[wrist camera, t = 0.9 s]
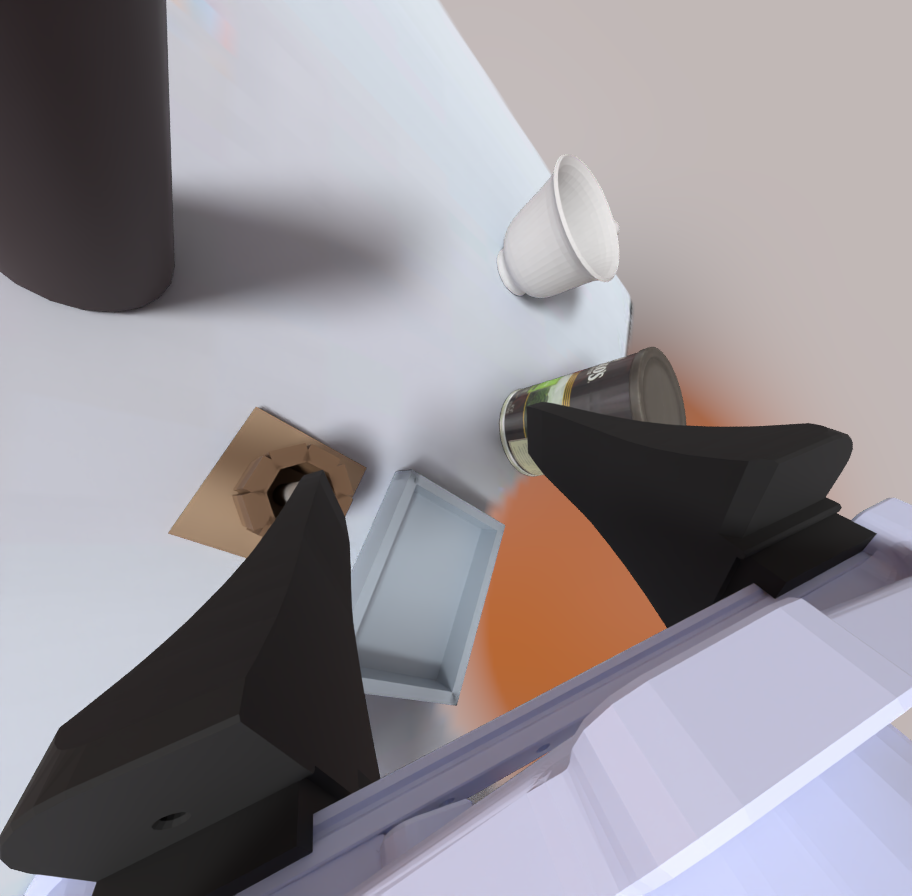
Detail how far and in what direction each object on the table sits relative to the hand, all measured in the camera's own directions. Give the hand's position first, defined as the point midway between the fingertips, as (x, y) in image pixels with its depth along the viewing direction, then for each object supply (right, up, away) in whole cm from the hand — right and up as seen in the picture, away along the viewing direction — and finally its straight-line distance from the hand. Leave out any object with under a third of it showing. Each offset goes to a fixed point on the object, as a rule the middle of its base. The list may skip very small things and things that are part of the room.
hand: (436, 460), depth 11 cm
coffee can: (+9, +2, +27) cm, 28 cm away
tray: (-3, -10, +15) cm, 18 cm away
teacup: (+8, +22, +29) cm, 38 cm away
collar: (-10, -2, +9) cm, 14 cm away
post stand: (-10, -3, +10) cm, 14 cm away
